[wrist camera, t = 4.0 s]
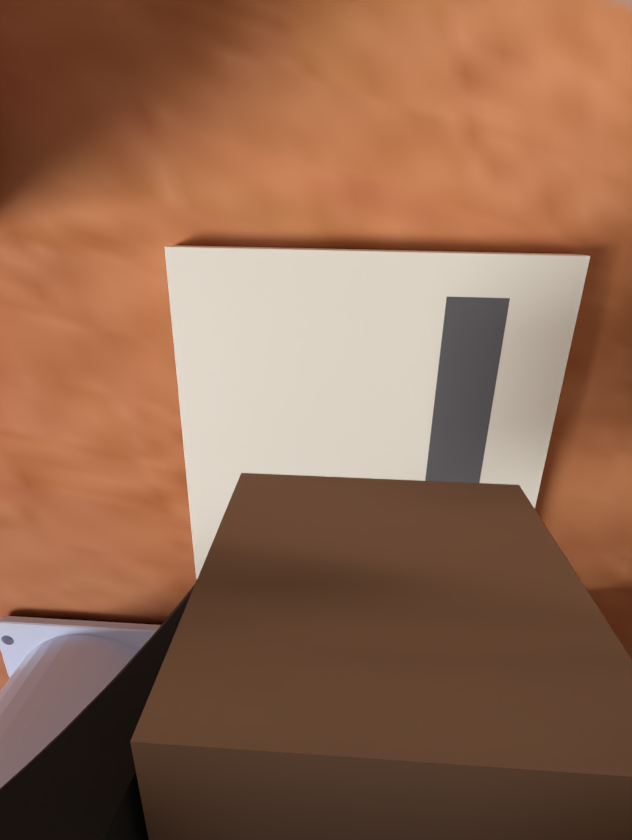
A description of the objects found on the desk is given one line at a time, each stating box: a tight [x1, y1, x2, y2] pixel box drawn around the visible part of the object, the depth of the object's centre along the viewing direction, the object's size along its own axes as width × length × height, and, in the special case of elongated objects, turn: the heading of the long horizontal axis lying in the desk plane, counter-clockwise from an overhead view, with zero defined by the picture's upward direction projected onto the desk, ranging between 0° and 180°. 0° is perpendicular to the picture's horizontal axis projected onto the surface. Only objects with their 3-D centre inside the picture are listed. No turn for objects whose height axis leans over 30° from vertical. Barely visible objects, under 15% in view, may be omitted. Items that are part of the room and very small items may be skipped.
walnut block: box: [130, 473, 632, 840], centre depth 8 cm, size 5×5×5 cm
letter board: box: [165, 245, 590, 579], centre depth 17 cm, size 12×12×1 cm
